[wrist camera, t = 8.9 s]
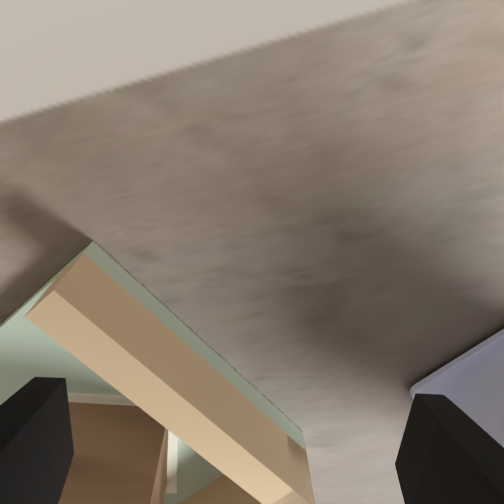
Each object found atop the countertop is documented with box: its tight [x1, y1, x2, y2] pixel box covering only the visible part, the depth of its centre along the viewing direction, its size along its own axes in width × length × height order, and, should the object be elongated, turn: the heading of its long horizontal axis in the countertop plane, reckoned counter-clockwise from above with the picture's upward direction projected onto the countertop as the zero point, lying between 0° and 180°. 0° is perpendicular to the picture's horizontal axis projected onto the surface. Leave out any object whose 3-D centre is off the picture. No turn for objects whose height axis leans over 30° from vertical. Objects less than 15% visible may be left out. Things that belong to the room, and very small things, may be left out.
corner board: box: [0, 241, 315, 504], centre depth 21 cm, size 14×19×4 cm
